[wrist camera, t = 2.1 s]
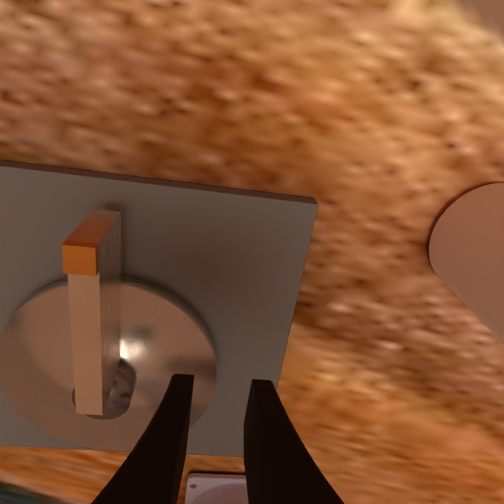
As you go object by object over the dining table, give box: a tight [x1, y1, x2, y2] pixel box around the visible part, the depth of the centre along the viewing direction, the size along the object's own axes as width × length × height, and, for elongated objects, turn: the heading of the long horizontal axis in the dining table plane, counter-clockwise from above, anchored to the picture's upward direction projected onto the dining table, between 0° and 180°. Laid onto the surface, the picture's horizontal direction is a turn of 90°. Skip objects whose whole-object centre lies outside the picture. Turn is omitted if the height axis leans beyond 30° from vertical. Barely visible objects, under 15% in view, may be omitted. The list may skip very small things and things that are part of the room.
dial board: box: [0, 160, 318, 457], centre depth 23 cm, size 19×21×1 cm
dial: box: [0, 209, 217, 451], centre depth 20 cm, size 16×12×5 cm
